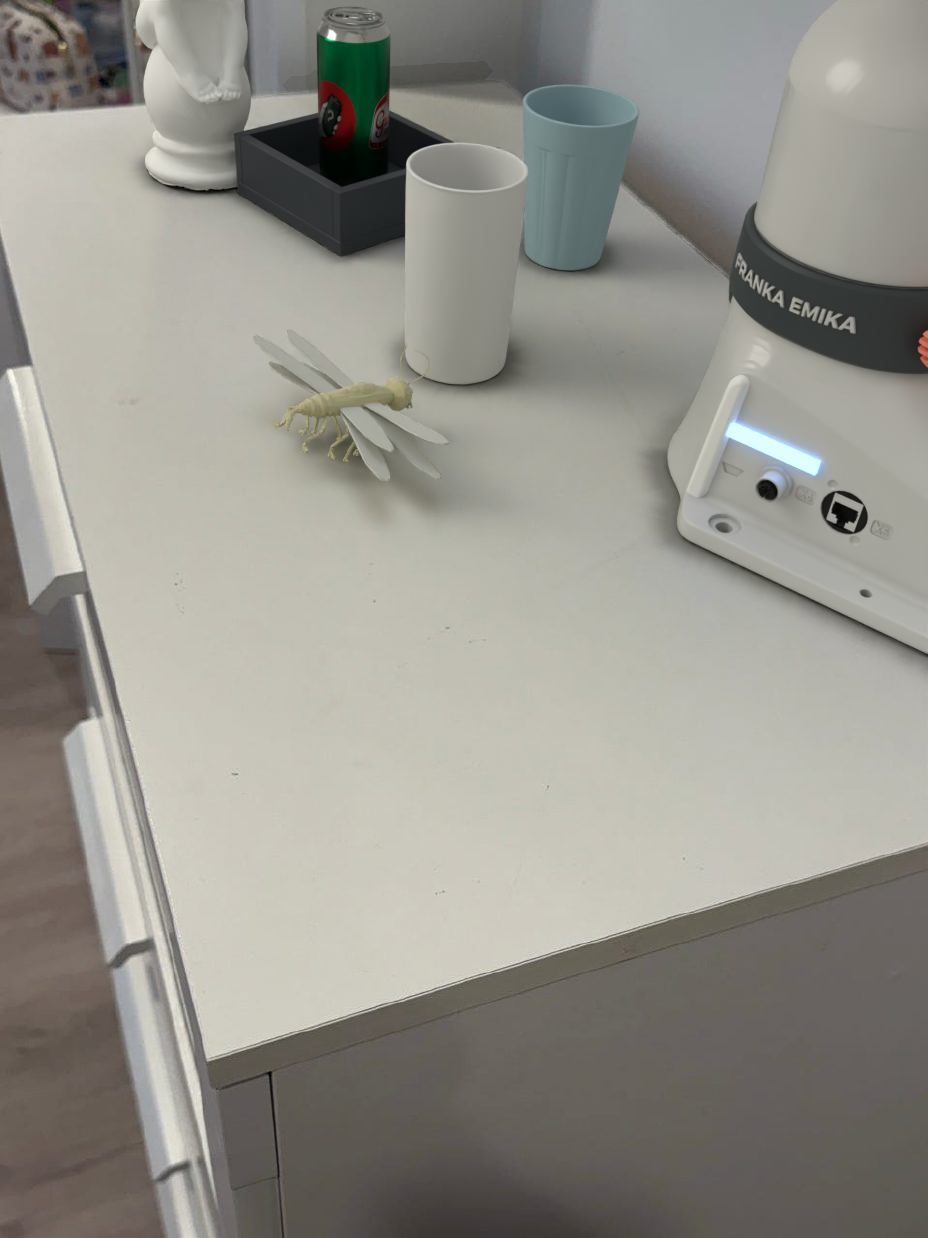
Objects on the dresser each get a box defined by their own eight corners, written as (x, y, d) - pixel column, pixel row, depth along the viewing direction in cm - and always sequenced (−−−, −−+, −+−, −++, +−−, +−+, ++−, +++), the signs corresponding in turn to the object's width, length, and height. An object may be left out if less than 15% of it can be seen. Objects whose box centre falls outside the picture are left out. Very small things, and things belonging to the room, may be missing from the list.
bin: (473, 212, 88) (478, 152, 85) (340, 256, 82) (339, 193, 79) (368, 156, 95) (369, 99, 92) (237, 193, 88) (233, 132, 85)
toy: (211, 412, 67) (204, 333, 63) (341, 366, 71) (340, 290, 68) (364, 547, 59) (364, 465, 56) (498, 486, 63) (506, 407, 60)
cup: (577, 222, 88) (596, 77, 81) (637, 266, 84) (663, 116, 76) (490, 239, 85) (502, 91, 78) (547, 286, 81) (565, 132, 73)
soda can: (385, 205, 86) (388, 29, 78) (316, 200, 86) (311, 24, 78) (390, 177, 90) (393, 7, 82) (323, 173, 90) (320, 1, 81)
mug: (515, 388, 71) (536, 193, 62) (403, 388, 70) (409, 190, 62) (497, 306, 78) (513, 122, 70) (395, 305, 77) (400, 119, 69)
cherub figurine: (246, 204, 87) (223, -145, 72) (79, 191, 87) (21, -161, 72) (273, 142, 96) (257, -180, 81) (121, 130, 96) (77, -194, 81)
